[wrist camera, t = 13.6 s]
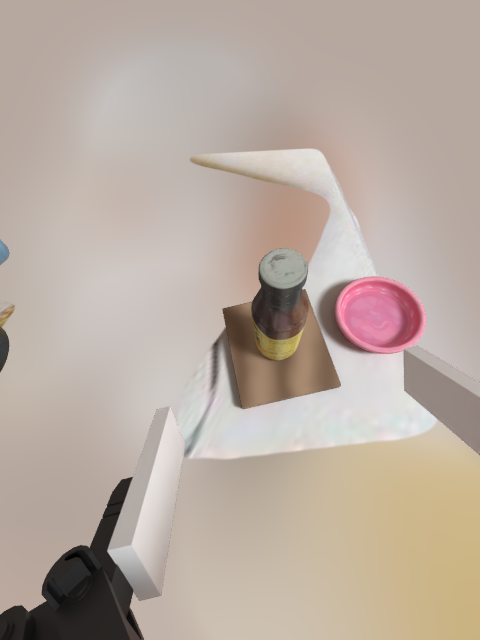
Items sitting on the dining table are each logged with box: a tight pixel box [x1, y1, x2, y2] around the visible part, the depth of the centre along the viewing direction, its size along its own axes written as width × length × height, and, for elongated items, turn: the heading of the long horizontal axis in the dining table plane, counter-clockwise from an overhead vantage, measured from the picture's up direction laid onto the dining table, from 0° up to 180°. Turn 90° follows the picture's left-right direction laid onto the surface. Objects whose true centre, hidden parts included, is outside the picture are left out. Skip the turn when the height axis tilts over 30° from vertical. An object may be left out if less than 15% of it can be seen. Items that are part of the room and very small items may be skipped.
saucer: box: [335, 277, 426, 354], centre depth 39 cm, size 12×12×3 cm
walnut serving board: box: [223, 289, 341, 409], centre depth 40 cm, size 14×16×2 cm
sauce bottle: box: [251, 248, 309, 361], centre depth 30 cm, size 6×6×20 cm
